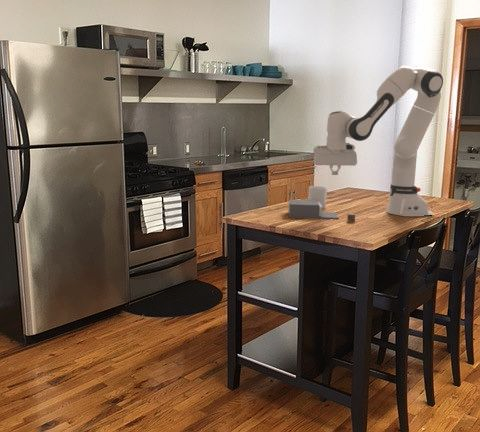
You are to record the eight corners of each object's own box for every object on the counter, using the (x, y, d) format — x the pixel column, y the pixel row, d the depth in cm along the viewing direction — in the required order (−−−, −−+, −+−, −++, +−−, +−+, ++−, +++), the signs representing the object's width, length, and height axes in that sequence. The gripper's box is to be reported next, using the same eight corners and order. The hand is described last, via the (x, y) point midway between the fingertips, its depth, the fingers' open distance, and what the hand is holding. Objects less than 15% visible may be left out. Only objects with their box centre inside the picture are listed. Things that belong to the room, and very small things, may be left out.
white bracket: (320, 211, 268) (320, 202, 267) (322, 216, 256) (323, 207, 255) (291, 210, 269) (292, 201, 268) (292, 215, 256) (293, 206, 255)
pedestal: (353, 220, 252) (354, 213, 251) (354, 222, 249) (355, 214, 248) (347, 220, 252) (347, 213, 252) (348, 222, 249) (348, 214, 249)
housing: (335, 213, 268) (335, 201, 267) (338, 219, 255) (339, 205, 254) (288, 212, 269) (288, 199, 268) (289, 217, 257) (289, 204, 255)
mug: (318, 210, 274) (319, 189, 272) (304, 208, 281) (305, 187, 278) (332, 208, 283) (333, 187, 280) (318, 205, 289) (319, 185, 287)
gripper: (314, 146, 253) (313, 175, 255) (358, 146, 251) (357, 175, 254) (313, 145, 259) (312, 173, 262) (356, 145, 258) (355, 174, 260)
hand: (334, 174), depth 258 cm, fingers closed
